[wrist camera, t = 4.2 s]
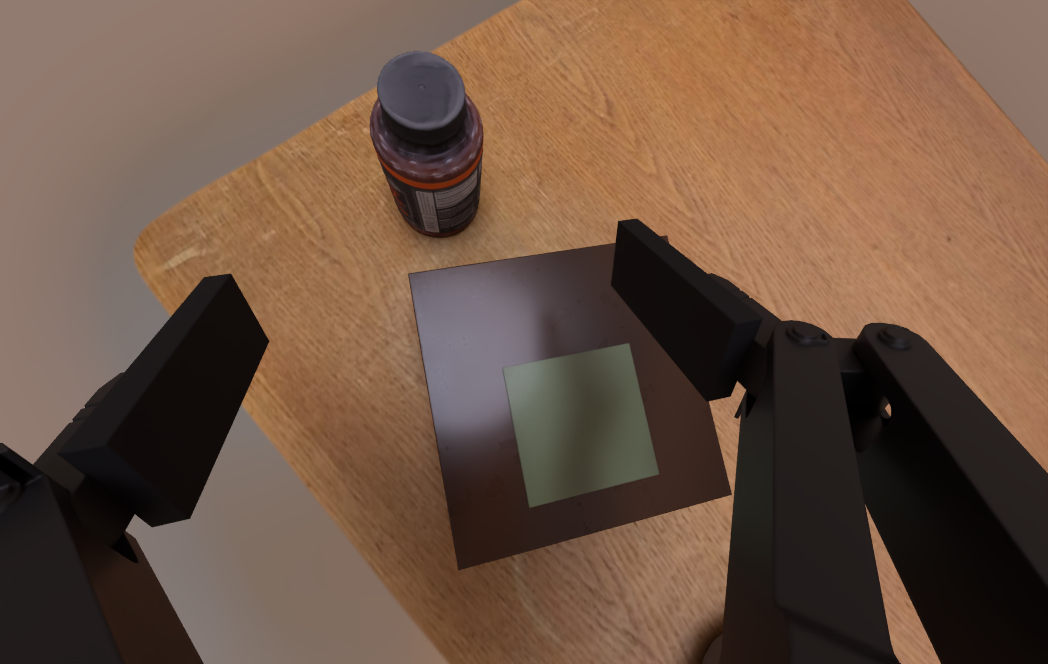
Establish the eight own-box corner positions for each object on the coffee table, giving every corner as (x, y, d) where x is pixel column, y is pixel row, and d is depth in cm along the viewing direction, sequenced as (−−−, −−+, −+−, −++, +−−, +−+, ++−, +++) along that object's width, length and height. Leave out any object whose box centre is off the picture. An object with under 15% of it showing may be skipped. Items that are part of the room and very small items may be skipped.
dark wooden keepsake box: (460, 529, 26) (458, 573, 20) (420, 297, 28) (407, 272, 22) (677, 472, 29) (734, 495, 22) (628, 264, 30) (669, 233, 24)
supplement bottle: (385, 176, 29) (333, 42, 17) (462, 155, 30) (459, 16, 19) (413, 250, 28) (378, 161, 17) (490, 226, 29) (505, 126, 18)
